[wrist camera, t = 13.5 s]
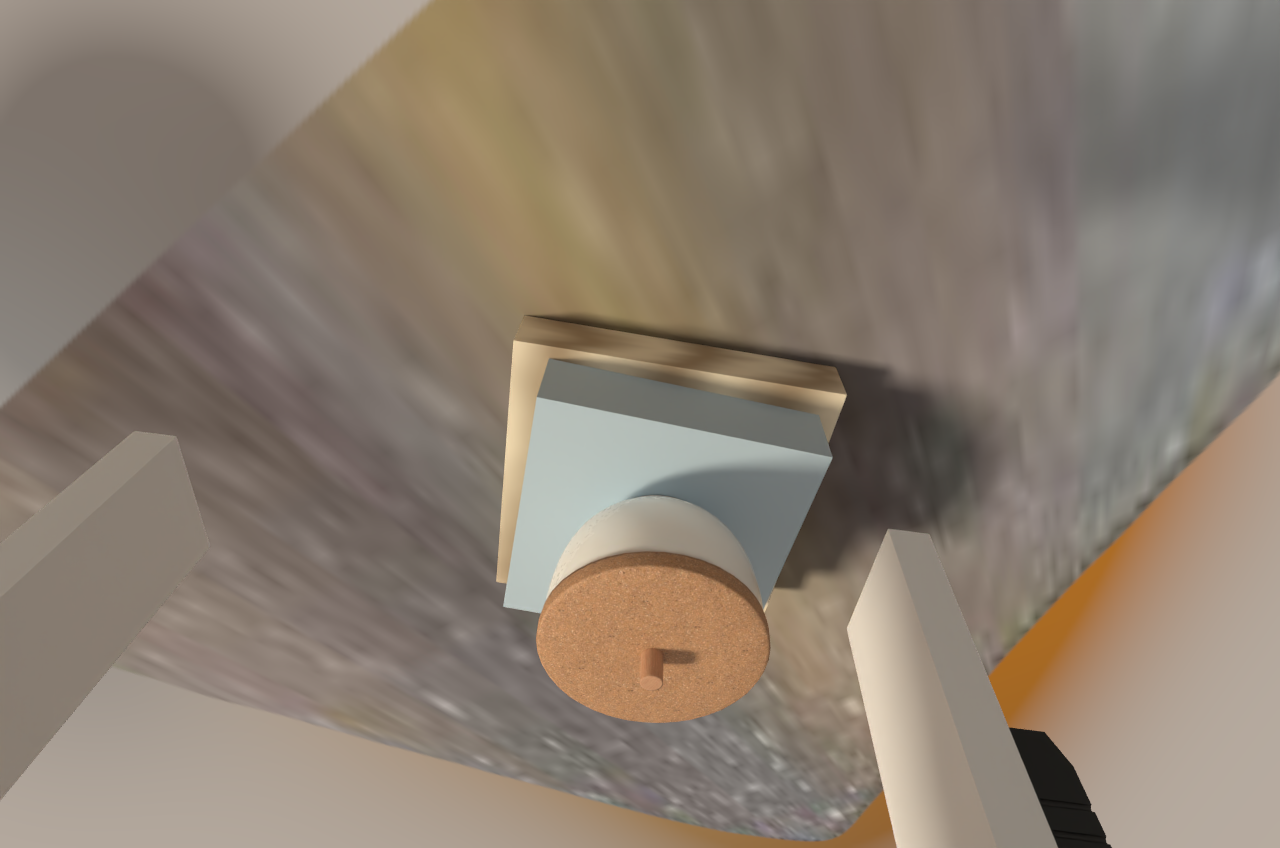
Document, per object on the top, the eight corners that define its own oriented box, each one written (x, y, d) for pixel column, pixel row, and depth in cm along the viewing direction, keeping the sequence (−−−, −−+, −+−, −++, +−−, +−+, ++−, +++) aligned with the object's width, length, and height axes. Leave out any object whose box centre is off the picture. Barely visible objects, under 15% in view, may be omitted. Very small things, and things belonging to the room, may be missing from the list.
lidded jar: (525, 557, 40) (488, 701, 32) (622, 424, 35) (607, 557, 27) (683, 630, 43) (685, 780, 35) (795, 517, 37) (827, 663, 30)
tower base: (832, 360, 41) (846, 395, 38) (755, 577, 51) (761, 620, 48) (526, 309, 40) (513, 340, 37) (508, 540, 50) (496, 581, 47)
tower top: (818, 415, 39) (832, 457, 35) (739, 600, 47) (744, 649, 43) (549, 358, 37) (536, 396, 34) (515, 559, 45) (503, 606, 42)
